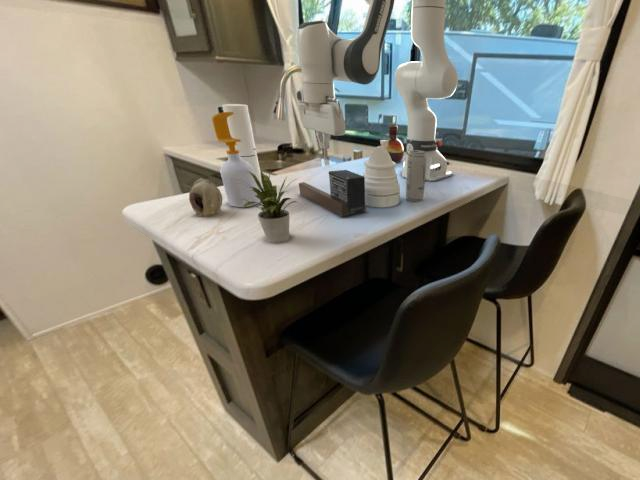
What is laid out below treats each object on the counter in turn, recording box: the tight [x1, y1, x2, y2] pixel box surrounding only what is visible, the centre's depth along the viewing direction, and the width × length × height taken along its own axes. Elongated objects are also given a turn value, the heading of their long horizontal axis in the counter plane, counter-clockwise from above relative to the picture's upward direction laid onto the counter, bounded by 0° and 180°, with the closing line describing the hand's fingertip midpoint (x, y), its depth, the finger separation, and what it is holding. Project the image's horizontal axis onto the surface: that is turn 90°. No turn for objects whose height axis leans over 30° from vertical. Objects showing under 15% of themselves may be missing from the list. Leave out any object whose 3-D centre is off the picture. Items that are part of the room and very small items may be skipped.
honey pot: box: [362, 139, 401, 208], centre depth 102 cm, size 13×13×18 cm
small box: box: [328, 169, 366, 216], centre depth 96 cm, size 11×6×10 cm, turn 39°
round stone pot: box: [188, 177, 223, 217], centre depth 90 cm, size 9×8×10 cm
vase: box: [385, 124, 405, 164], centre depth 155 cm, size 11×11×15 cm
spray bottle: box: [211, 111, 261, 208], centre depth 93 cm, size 9×9×25 cm
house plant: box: [234, 169, 299, 244], centre depth 75 cm, size 14×14×16 cm
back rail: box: [298, 181, 349, 218], centre depth 100 cm, size 2×26×4 cm, turn 41°
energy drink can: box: [405, 150, 427, 202], centre depth 106 cm, size 6×6×15 cm
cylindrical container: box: [221, 103, 264, 190], centre depth 107 cm, size 7×7×25 cm
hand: (324, 148), depth 100 cm, fingers closed
